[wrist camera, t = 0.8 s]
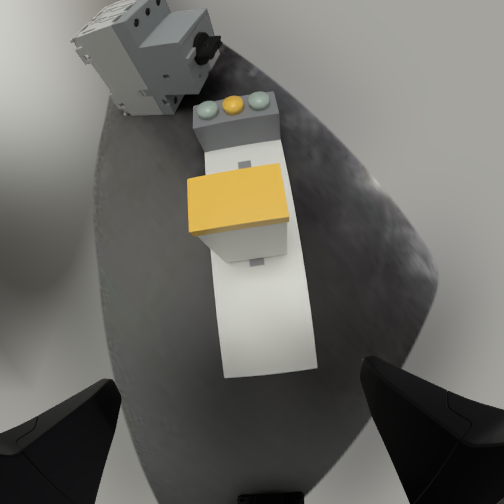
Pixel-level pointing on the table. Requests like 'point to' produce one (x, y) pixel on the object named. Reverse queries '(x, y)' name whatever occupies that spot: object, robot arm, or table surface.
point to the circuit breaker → (149, 53)
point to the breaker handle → (240, 212)
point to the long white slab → (261, 269)
